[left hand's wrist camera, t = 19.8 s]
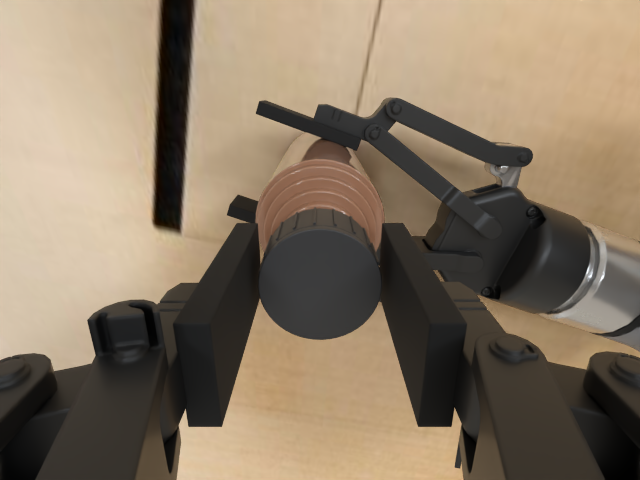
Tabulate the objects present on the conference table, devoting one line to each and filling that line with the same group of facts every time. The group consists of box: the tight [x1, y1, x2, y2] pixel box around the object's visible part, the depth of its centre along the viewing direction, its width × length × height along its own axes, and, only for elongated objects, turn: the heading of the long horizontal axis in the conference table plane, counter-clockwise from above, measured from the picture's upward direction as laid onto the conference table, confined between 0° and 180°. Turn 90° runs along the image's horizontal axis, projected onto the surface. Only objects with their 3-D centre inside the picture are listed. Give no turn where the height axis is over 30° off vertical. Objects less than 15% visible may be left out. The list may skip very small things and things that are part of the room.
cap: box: [258, 207, 382, 340], centre depth 13 cm, size 4×4×2 cm
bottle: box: [256, 132, 385, 252], centre depth 23 cm, size 6×6×21 cm
